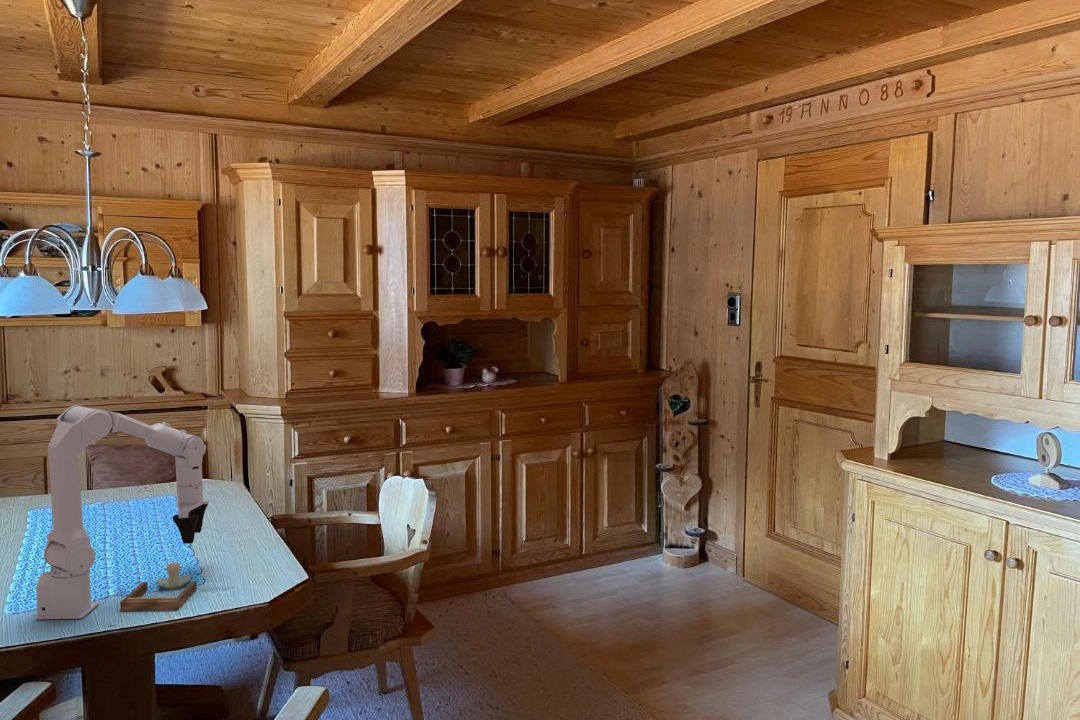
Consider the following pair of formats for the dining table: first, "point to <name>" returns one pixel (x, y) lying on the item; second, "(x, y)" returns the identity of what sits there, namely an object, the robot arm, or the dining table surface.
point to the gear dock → (155, 600)
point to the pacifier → (173, 577)
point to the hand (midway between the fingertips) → (192, 537)
